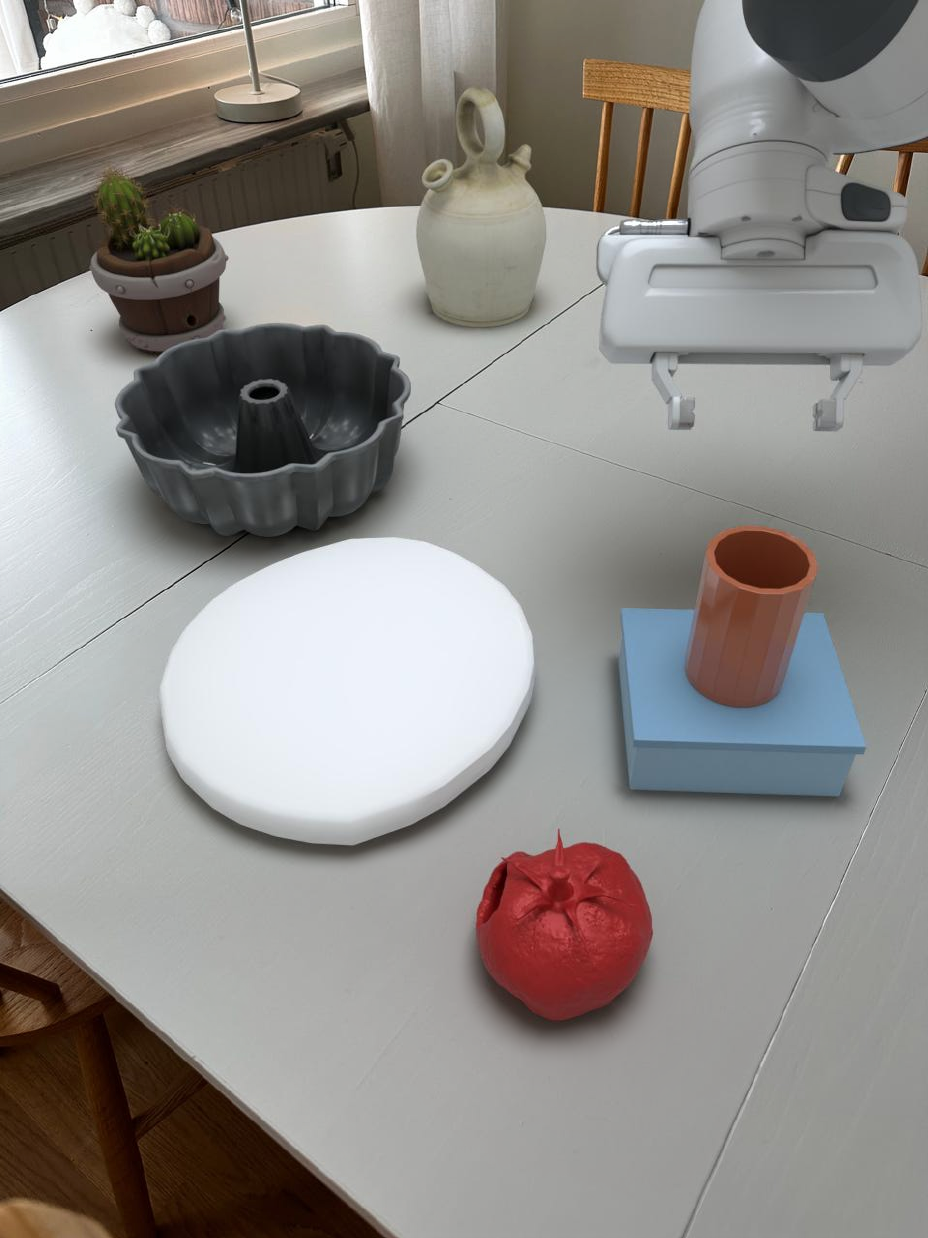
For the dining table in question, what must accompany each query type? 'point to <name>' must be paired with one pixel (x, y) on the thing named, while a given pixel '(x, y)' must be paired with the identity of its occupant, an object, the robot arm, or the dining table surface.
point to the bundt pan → (266, 426)
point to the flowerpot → (156, 269)
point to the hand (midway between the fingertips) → (754, 428)
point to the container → (733, 717)
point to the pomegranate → (564, 928)
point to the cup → (748, 614)
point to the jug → (480, 225)
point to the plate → (347, 689)
